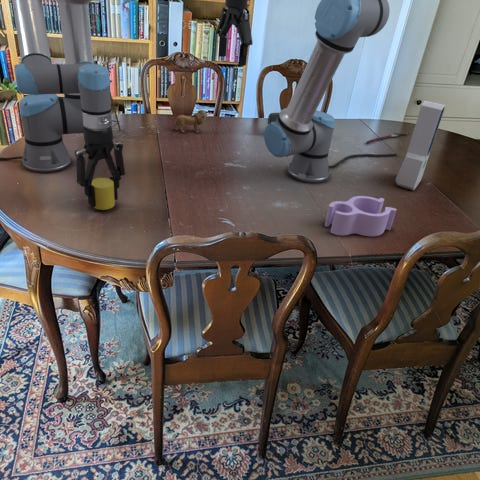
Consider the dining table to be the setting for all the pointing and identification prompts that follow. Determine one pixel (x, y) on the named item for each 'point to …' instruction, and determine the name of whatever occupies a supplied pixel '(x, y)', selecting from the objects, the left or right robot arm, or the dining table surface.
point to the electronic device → (420, 145)
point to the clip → (359, 216)
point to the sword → (384, 137)
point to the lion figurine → (191, 120)
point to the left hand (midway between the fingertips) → (103, 201)
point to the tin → (104, 193)
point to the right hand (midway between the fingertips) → (231, 60)
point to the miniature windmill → (110, 92)
